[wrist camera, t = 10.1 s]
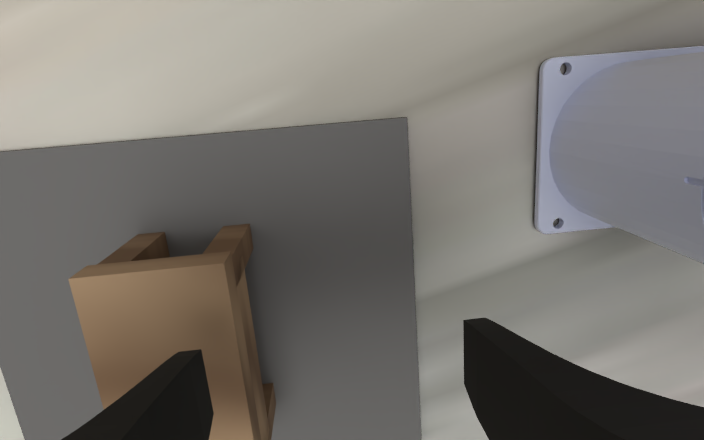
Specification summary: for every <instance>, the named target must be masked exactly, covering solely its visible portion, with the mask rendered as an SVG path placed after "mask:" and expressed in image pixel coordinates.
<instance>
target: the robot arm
mask: <svg viewBox="0 0 704 440" xmlns="http://www.w3.org/2000/svg"><path fill="white" fill-rule="evenodd" d="M563 63H564V64H565V65H566V67H567V70H566V73H565V74H564V75H562V73H561V72H560V67H561V65H562V64H563ZM557 218H559V223H558V224H557V226H554V227H553V222H554V220H555V219H557ZM534 224H535V228H536V229H537V230H538V231H539V232H541V233H543V234H554V233H564V232H573V231H583V230H593V229H603V228H613V227H617V228H620V229H622V230H624V231H627V232H629V233H631V234H634V235H636V236H639V237H641V238H643V239H646V240H648V241H651V242H653V243H655V244H658V245H660V246H662V247H665V248H667V249H670V250H672V251H674V252H677V253H679V254H682V255H684V256H686V257H689V258H691V259H693V260H696V261H698V262H701V263H703V264H704V46H693V47H681V48H668V49H655V50H643V51H630V52H617V53H605V54H592V55H579V56H567V57H554V58H550V59H547V60H545V61H544V62H543V63H542V65H541V66H540V72H539V102H538V132H537V162H536V192H535V222H534ZM464 384H465V387H466V390H467V392H468V395H469V398H470V401H471V403H472V406H473V408H474V411H475V413H476V416H477V418H478V420H479V422H480V424H481V425H482V427H483V429H484V431H485V433H486V435H487V437H488V438H489V440H704V407H700V406H696V405H691V404H688V403H684V402H680V401H676V400H673V399H669V398H666V397H662V396H659V395H656V394H653V393H649V392H646V391H643V390H640V389H637V388H634V387H631V386H628V385H625V384H622V383H619V382H617V381H614V380H611V379H609V378H606V377H604V376H601V375H599V374H596V373H593V372H591V371H589V370H586V369H584V368H582V367H580V366H577V365H575V364H573V363H571V362H569V361H567V360H565V359H563V358H560V357H558V356H556V355H554V354H552V353H550V352H548V351H546V350H545V349H543V348H541V347H539V346H537V345H535V344H533V343H531V342H530V341H528V340H526V339H524V338H522V337H520V336H519V335H517V334H515V333H513V332H512V331H510V330H508V329H506V328H504V327H503V326H501V325H499V324H497V323H495V322H493V321H491V320H489V319H487V318H478V319H469V320H464ZM213 415H214V412H213V407H212V402H211V397H210V392H209V386H208V381H207V376H206V371H205V366H204V361H203V355H202V350H201V349H199V350H190V351H181V352H177V353H176V354H174V355H173V356H172V357H170V358H169V359H168V360H166V361H165V362H164V363H163V364H161V365H160V366H159V367H158V368H156V369H155V370H154V371H153V372H151V373H150V374H149V375H148V376H147V377H145V378H144V379H143V380H142V381H140V382H139V383H138V384H137V385H135V386H134V387H133V388H132V389H130V390H129V391H128V392H127V393H125V394H124V395H123V396H122V397H120V398H119V399H118V400H116V401H115V402H114V403H112V404H111V405H110V406H108V407H107V408H106V409H104V410H103V411H102V412H100V413H99V414H97V415H96V416H95V417H93V418H92V419H91V420H89V421H88V422H87V423H85V424H84V425H82V426H81V427H79V428H78V429H76V430H75V431H73V432H72V433H70V434H69V435H67V436H66V437H64V438H63V439H61V440H209V436H210V431H211V426H212V420H213Z"/></svg>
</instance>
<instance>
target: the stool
mask: <svg viewBox="0 0 704 440" xmlns="http://www.w3.org/2000/svg"><path fill="white" fill-rule="evenodd" d="M252 251H253V242H252V235H251V228H250V224H240V225H230V226H223V227H222V228H221V230H220V231H219V232H218V234H217V235H216V236H215V238H214V239H213V240H212V242H211V243H210V244H209V246H208V247H207V248H206V250H205V251H204V252H203V254H199V255H189V256H179V257H170V255H169V250H168V245H167V240H166V235H165V232H157V233H147V234H137V235H136V236H135V237H133V238H132V239H131V240H129V241H128V242H127V243H125V244H124V245H123V246H121V247H120V248H118V249H117V250H116V251H114V252H113V253H112V254H110V255H109V256H108V257H106V258H105V259H104V260H102V261H101V262H100V263H98V264H97V265H88V266H86V267H84V268H83V269H81V270H80V271H79V272H77V273H76V274H74V275H73V276H72V277H70V278H69V279H68V280H69V284H70V287H71V291H72V295H73V298H74V302H75V306H76V309H77V313H78V317H79V320H80V324H81V328H82V332H83V335H84V339H85V343H86V346H87V350H88V354H89V357H90V361H91V365H92V368H93V372H94V376H95V379H96V383H97V387H98V391H99V394H100V398H101V402H102V405H103V409H106V408H107V407H108V406H110V405H111V404H112V403H114V402H115V401H116V400H118V399H119V398H120V397H122V396H123V395H124V394H125V393H127V392H128V391H129V390H130V389H132V388H133V387H134V386H135V385H137V384H138V383H139V382H140V381H142V380H143V379H144V378H145V377H147V376H148V375H149V374H150V373H151V372H153V371H154V370H155V369H156V368H158V367H159V366H160V365H161V364H163V363H164V362H165V361H166V360H168V359H169V358H170V357H172V356H173V355H174V354H176V353H177V352H181V351H190V350H199V349H201V350H202V355H203V361H204V366H205V371H206V376H207V381H208V386H209V392H210V397H211V402H212V407H213V412H214V415H213V420H212V426H211V431H210V436H209V440H271V438H272V430H273V423H274V415H275V408H276V399H275V392H274V385H273V383H268V384H262V379H261V373H260V366H259V360H258V353H257V347H256V340H255V334H254V327H253V321H252V314H251V308H250V301H249V295H248V288H247V282H246V275H245V267H246V265H247V262H248V260H249V258H250V255H251V253H252Z"/></svg>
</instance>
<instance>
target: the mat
mask: <svg viewBox="0 0 704 440" xmlns="http://www.w3.org/2000/svg"><path fill="white" fill-rule="evenodd" d="M240 224H250V228H251V235H252V242H253V251H252V253H251V255H250V258H249V260H248V262H247V265H246V267H245V275H246V282H247V288H248V295H249V301H250V308H251V314H252V321H253V327H254V334H255V340H256V347H257V353H258V360H259V366H260V373H261V379H262V384H268V383H273V385H274V392H275V399H276V408H275V415H274V423H273V430H272V438H271V440H421V417H420V395H419V372H418V350H417V327H416V305H415V282H414V260H413V237H412V215H411V192H410V170H409V147H408V125H407V117H401V118H390V119H378V120H366V121H354V122H343V123H331V124H319V125H307V126H296V127H284V128H272V129H260V130H249V131H237V132H225V133H213V134H202V135H190V136H178V137H166V138H154V139H143V140H131V141H119V142H107V143H96V144H84V145H72V146H60V147H49V148H37V149H25V150H13V151H2V152H0V367H1V370H2V373H3V376H4V379H5V382H6V385H7V388H8V391H9V394H10V397H11V400H12V403H13V406H14V409H15V412H16V415H17V418H18V421H19V424H20V427H21V430H22V433H23V436H24V439H25V440H61V439H63V438H64V437H66V436H67V435H69V434H70V433H72V432H73V431H75V430H76V429H78V428H79V427H81V426H82V425H84V424H85V423H87V422H88V421H89V420H91V419H92V418H93V417H95V416H96V415H97V414H99V413H100V412H102V411H103V410H104V409H103V405H102V402H101V398H100V394H99V391H98V387H97V383H96V379H95V376H94V372H93V368H92V365H91V361H90V357H89V354H88V350H87V346H86V343H85V339H84V335H83V332H82V328H81V324H80V320H79V317H78V313H77V309H76V306H75V302H74V298H73V295H72V291H71V287H70V284H69V280H68V279H69V278H70V277H72V276H73V275H74V274H76V273H77V272H79V271H80V270H81V269H83V268H84V267H86V266H88V265H97V264H98V263H100V262H101V261H102V260H104V259H105V258H106V257H108V256H109V255H110V254H112V253H113V252H114V251H116V250H117V249H118V248H120V247H121V246H123V245H124V244H125V243H127V242H128V241H129V240H131V239H132V238H133V237H135V236H136V235H137V234H147V233H157V232H165V235H166V240H167V245H168V250H169V255H170V257H179V256H189V255H199V254H203V252H204V251H205V250H206V248H207V247H208V246H209V244H210V243H211V242H212V240H213V239H214V238H215V236H216V235H217V234H218V232H219V231H220V230H221V228H222V227H223V226H230V225H240Z"/></svg>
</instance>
